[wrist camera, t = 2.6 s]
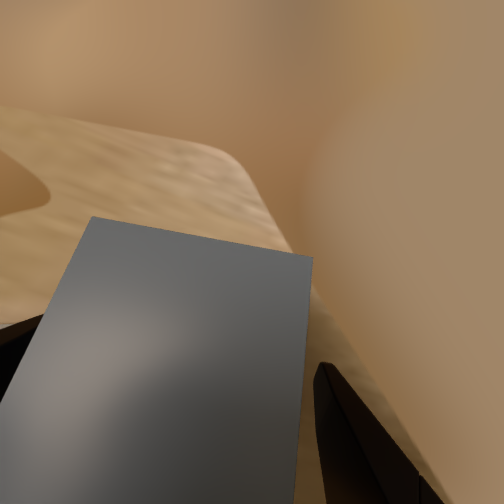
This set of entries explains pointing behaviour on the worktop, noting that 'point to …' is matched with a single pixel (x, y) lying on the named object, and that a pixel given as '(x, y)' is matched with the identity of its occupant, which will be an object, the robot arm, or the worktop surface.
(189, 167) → the worktop surface
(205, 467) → the gray rectangular block
